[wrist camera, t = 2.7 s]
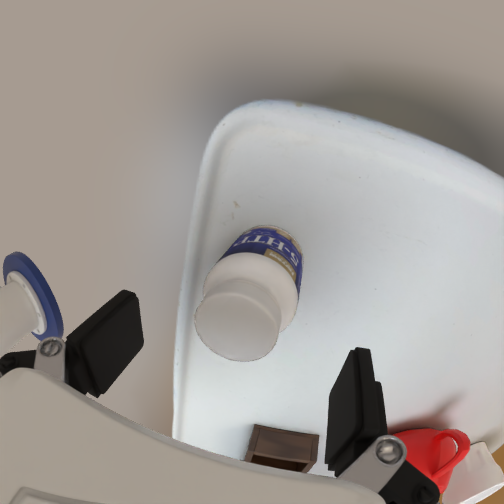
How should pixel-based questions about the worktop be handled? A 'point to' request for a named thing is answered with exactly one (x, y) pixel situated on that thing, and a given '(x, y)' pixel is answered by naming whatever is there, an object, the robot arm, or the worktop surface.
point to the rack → (282, 449)
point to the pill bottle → (251, 294)
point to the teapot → (435, 452)
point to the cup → (474, 477)
